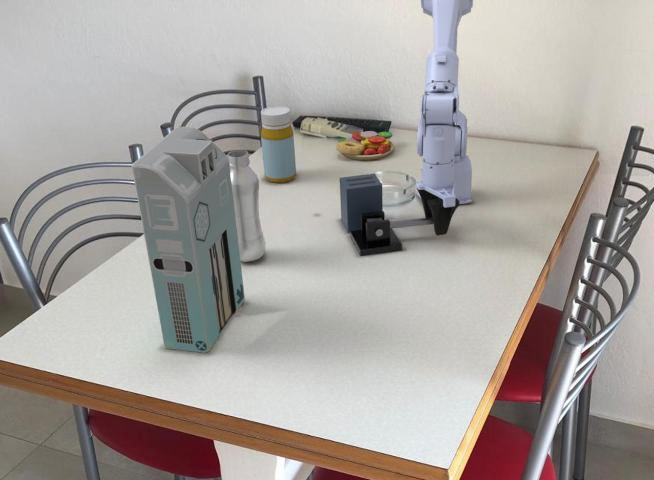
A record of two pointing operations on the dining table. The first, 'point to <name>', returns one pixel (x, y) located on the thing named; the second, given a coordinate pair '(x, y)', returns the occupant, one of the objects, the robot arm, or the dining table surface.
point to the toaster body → (359, 199)
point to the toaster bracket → (375, 235)
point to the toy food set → (366, 145)
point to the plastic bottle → (246, 206)
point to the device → (190, 237)
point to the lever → (407, 222)
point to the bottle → (278, 145)
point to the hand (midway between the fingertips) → (436, 228)
